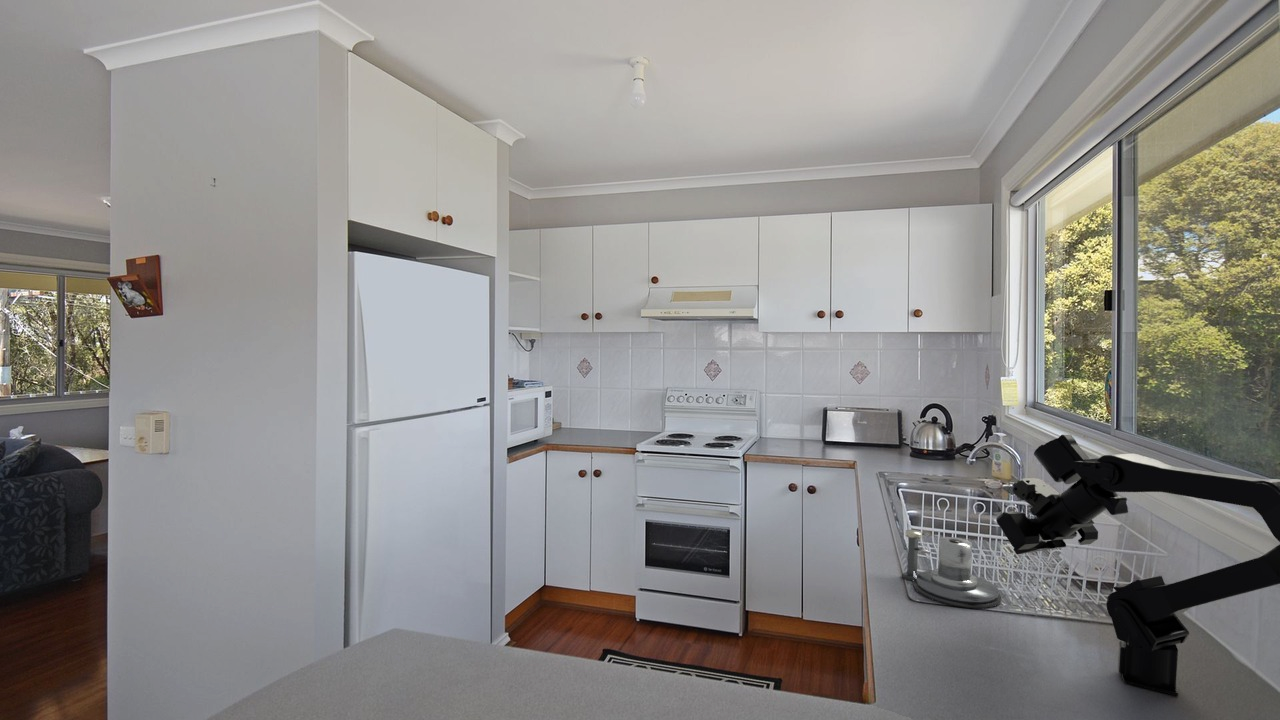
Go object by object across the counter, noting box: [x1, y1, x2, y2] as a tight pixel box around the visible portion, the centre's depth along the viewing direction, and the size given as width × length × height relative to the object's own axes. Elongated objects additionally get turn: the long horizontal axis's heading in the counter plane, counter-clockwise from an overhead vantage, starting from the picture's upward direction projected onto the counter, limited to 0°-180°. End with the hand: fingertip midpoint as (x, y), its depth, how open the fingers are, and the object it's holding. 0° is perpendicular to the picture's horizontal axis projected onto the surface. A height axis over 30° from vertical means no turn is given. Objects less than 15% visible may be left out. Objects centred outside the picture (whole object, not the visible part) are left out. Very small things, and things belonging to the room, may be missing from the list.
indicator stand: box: [901, 529, 932, 581], centre depth 140 cm, size 5×3×10 cm, turn 40°
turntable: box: [913, 569, 1002, 610], centre depth 134 cm, size 16×16×2 cm
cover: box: [931, 536, 977, 591], centre depth 134 cm, size 8×8×9 cm
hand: (1016, 551), depth 121 cm, fingers closed
